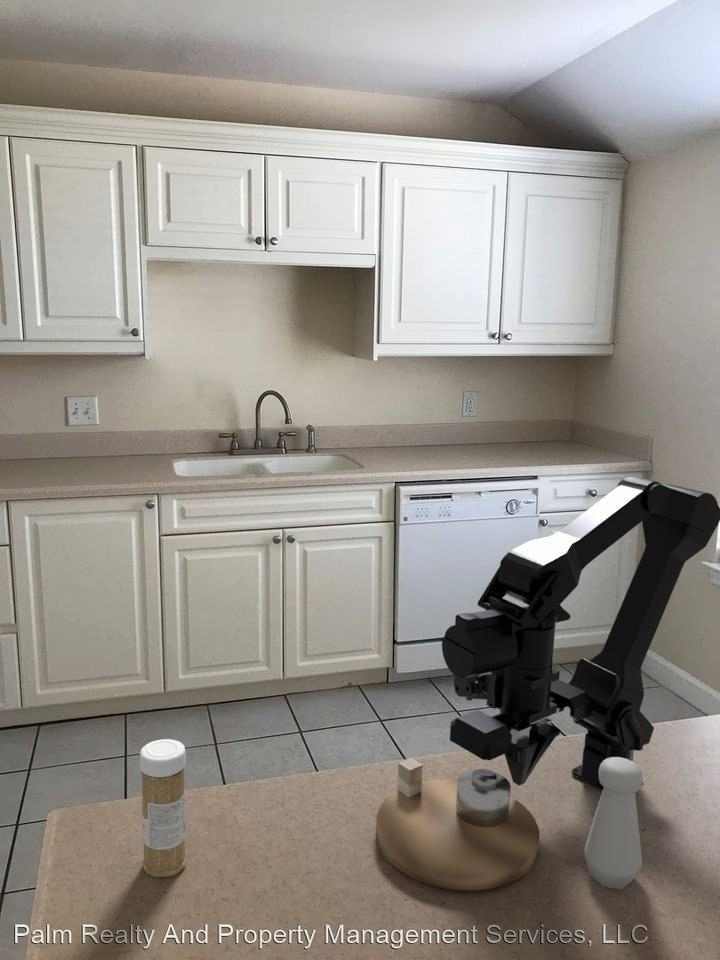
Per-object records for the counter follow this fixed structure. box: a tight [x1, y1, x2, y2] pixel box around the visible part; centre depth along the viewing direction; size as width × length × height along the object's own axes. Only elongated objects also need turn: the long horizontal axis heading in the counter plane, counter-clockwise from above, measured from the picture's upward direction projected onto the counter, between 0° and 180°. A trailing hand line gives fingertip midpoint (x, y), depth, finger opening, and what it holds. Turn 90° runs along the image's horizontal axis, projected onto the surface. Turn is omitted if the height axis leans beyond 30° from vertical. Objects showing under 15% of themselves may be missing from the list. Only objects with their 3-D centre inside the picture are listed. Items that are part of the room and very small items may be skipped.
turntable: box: [375, 757, 540, 891], centre depth 92 cm, size 18×18×5 cm
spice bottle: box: [139, 738, 187, 878], centre depth 86 cm, size 5×5×14 cm
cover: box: [456, 768, 511, 827], centre depth 94 cm, size 6×6×4 cm
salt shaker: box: [584, 757, 644, 891], centre depth 86 cm, size 6×6×13 cm
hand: (518, 783), depth 98 cm, fingers closed
